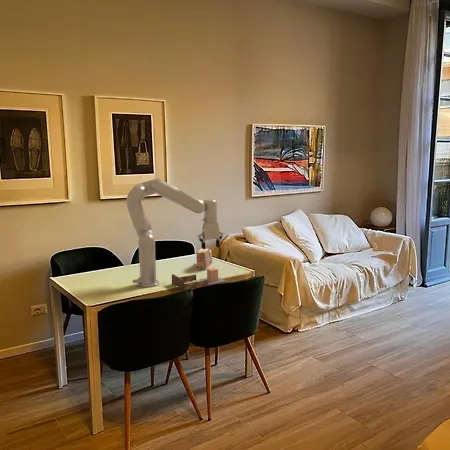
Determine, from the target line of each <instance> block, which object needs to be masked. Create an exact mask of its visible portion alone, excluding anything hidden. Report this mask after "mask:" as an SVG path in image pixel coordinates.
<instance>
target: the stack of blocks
mask: <svg viewBox="0 0 450 450" xmlns="http://www.w3.org/2000/svg"><path fill="white" fill-rule="evenodd" d="M195 255H196V270H197V271H207V269H209V268H210V266H211V265H212V263H213V250H212V249H210V248H205V249H202V247H200V249H198V251H197V252H196V253H195Z"/></svg>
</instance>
